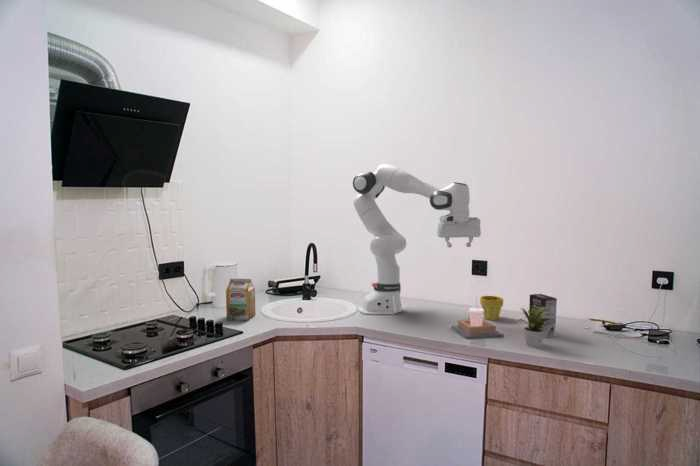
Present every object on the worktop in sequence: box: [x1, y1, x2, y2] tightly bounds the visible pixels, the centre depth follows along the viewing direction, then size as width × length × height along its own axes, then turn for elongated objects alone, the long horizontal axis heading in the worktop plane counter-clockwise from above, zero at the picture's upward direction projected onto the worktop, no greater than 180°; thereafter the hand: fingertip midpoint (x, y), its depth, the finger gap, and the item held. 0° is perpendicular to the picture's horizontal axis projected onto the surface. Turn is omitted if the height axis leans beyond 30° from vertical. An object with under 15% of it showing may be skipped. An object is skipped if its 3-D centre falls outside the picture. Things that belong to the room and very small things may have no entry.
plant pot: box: [479, 295, 504, 321], centre depth 217 cm, size 10×10×10 cm
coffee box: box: [528, 293, 558, 338], centre depth 192 cm, size 9×6×16 cm
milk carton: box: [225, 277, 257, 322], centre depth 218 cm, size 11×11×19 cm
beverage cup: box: [468, 297, 484, 326], centre depth 194 cm, size 6×6×14 cm
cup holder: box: [450, 318, 504, 340], centre depth 195 cm, size 16×16×4 cm
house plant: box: [517, 304, 552, 348], centre depth 177 cm, size 14×14×16 cm
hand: (458, 247), depth 214 cm, fingers open, 8 cm apart
